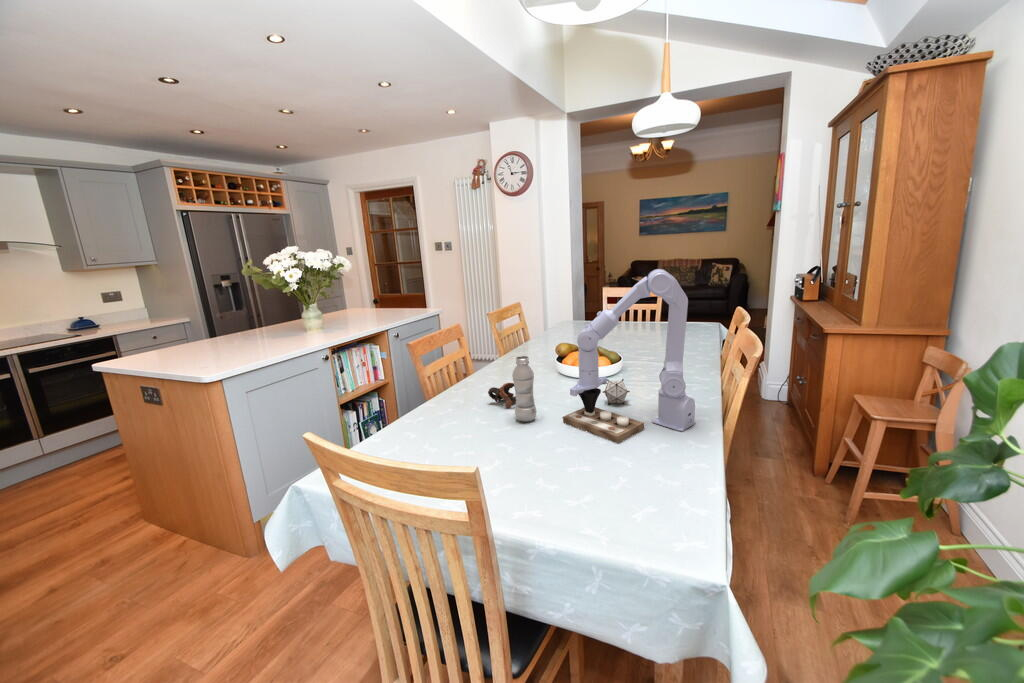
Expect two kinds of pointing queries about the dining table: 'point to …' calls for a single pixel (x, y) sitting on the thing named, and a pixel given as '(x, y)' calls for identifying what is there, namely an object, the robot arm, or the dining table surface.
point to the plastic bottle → (524, 390)
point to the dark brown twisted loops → (503, 394)
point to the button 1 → (589, 413)
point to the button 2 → (622, 422)
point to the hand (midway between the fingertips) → (589, 412)
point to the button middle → (605, 416)
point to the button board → (603, 425)
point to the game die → (615, 391)
